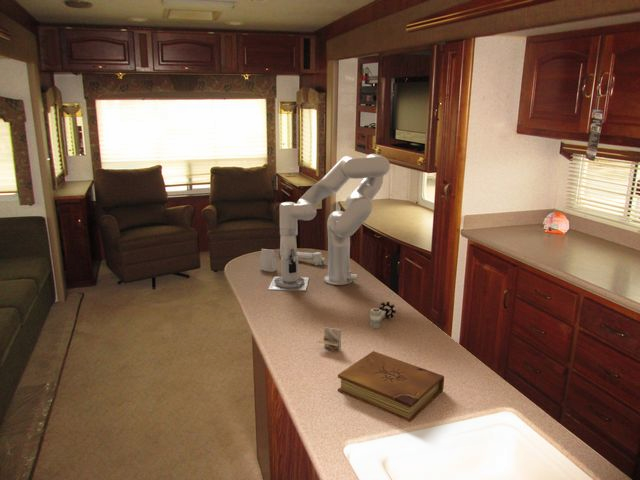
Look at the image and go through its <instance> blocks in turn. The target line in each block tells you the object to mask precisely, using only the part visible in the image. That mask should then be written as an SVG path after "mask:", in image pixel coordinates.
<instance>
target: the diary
mask: <svg viewBox="0 0 640 480" xmlns="http://www.w3.org/2000/svg"><path fill="white" fill-rule="evenodd" d="M337 378H338V379H340V387H339V388H338V389H337V392H340V393H342V394H344V395H347V396H348V397H350V398H353V399H355V400H358V401H360V402H362V403H364V404H367V405H369V406H372V407H374V408H377V409H379V410H381V411H384V412H385V413H388V414H390V415H392V416H395V417H398V418H399V419H401V420H404V421H406V422H409V423H411V422H412V421H413V420H414V419H415V418H416V417H417V416H418V415H420V414H421V412H423V411H424V410H425V409H426V408H427V407H428V406H429V405H430V404H431V403H432V402H433V401H434V400H435V399H436V398H438V397H439V396H440V395H441V394H442V392H443V391H444V384H445V376H444V375H442V374H439V373H436V372H433V371H432V370H431V371H430V370H428V369H425V368H422V367H419V366H417V365H414V364H411V363H408V362H406V361H403V360H401V359H397V358H394V357H392V356H388V355H386V354H383V353H380V352H377V351H374V350H373V351H371V352H369V353H368V354H366V355H365V356H364V357H362V358H361V359H358V361H356V362H354V363H353V364H352V365H350V366H348V367H347V368H345V369H344V370H342V371H341V372H339V373H338V374H337Z"/></svg>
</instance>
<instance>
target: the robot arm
mask: <svg viewBox="0 0 640 480" xmlns="http://www.w3.org/2000/svg"><path fill="white" fill-rule="evenodd" d="M390 167H391V163H390V162H389V160H388V158H386V157H385V156H384V155H380V154H377V153H370V154H368V155H367V156H366V157H354V156H352V155H345V156H343V157H342V158H341V159H340V160H338V162H337V163H336V164H335V165H334V166H333V167H332V168H331V169H330V170H329V171H328V172H327V173H326V174H325V175H324V176H323V177H322V178H321V179H320V180H319V181H317V182H316V183H314V185H312V186H311V187H310V188H309V189H307V190H306V191H305V193H303V195H302V196H300V198H299V199H298V200H297V202H293V201H285V202H284V201H283V202H281V203H279V236H280V241H279V242H280V244H279V252H280V254H281V255H283V257H284V258H285V259H289V263H290V264H289V273H296V261H297V260H296V258H297V252H298V248H297V236H298V220H299V221H311V220H313V219H314V218H315V217H316V215H317V208H316V206H317V205H318V204H319V203H320V202H321V201H323V200H324V199H326V198H327V197H331V196H334V195H335V194H337V193H338V192H339V191H340V190H341V189H342V188H343V186H345V184H347V182H349V180H350V179H355V180H356V179H362V180H360V181H361V182H360V183H359V184H358V185H357V186H356V188H355V189H354V190H353V191H352V192H351V193H350V194H349V195H348V196H347V197H346V199H345V202H344V206H345V208H346V209H345V210H344V211H343V210H333V212H331V213H330V214H329V216H328V218H327V224H326V226H327V227H326V228H327V239H328V240H327V241H328V242H327V245H328V246H327V249H328V250H327V257H328V258H327V275H325V276H324V282H325V283H327V284H329V285H335V286H344V285H349V284H351V283H353V281H358V278H359V277H358V274H355V273H354V274H353V273H352V270H351V269H350V261H351V259H350V256H351V255H350V254H351V253H350V252H351V251H350V247H351V236H353V235H354V234H355V233H356V231H358V230H359V229H360V228H361V226H362V225H363V224H364V223H365V221H366V220H367V219H368V218H369V217H370V215H371V214H372V211H373V203H372V201H373V199H374V198H375V197H376V195H377V194H378V193H379V191H380V190H381V188H382V185H383V182H384V176H386V175H387V174H388V173H389V171H390V169H391V168H390ZM291 256H293V257H291ZM291 259H292V260H291Z"/></svg>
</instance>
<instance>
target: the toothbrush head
mask: <svg viewBox="0 0 640 480" xmlns="http://www.w3.org/2000/svg"><path fill="white" fill-rule="evenodd" d="M281 257H282V255H281V254H280V251H279V252H278V258H279V259H281ZM297 257H298V260H311V262H312V265H314V266H323V265H324V264H325V258H324V257H323V254H322V252H321V251H320V252H318V251H317V252H306V251H305V252H302V251H297Z"/></svg>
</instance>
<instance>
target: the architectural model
mask: <svg viewBox="0 0 640 480" xmlns="http://www.w3.org/2000/svg"><path fill="white" fill-rule="evenodd" d="M341 331H342V330H341V328H340V329H339V328H332V327H326V326H324V335H323V337H321V336H320V338H319V339H318V340H317V343H318V344H323V345H324V348H328V349H331V350H332V351H335V350H338V353H339V352H341V350H342V339H341V338H342V337H341V335H342V332H341Z"/></svg>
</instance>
